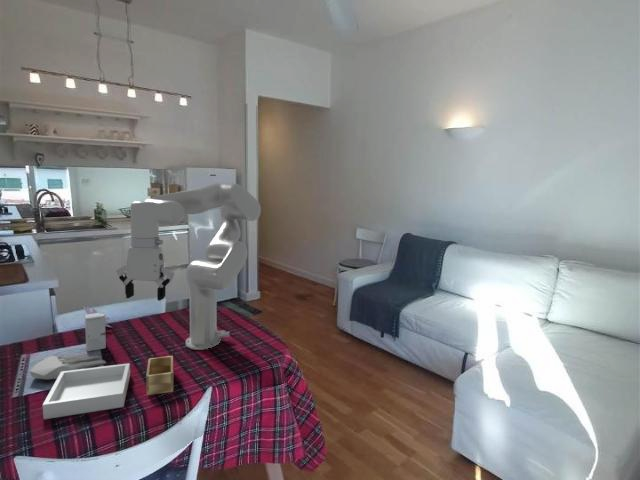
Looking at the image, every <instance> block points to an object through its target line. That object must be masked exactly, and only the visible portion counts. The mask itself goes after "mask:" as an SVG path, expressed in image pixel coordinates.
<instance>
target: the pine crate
mask: <svg viewBox="0 0 640 480" xmlns="http://www.w3.org/2000/svg"><path fill="white" fill-rule="evenodd" d="M147 360H148V361H147V368H146V375H145V376H146V377H145V380H146V381H145V382H146V384H145V385H146V396H152V395H153V396H154V395H158V394H166V393H170V392H171V393H173V392H174V355H167V356H160V357H150V358H148V359H147Z"/></svg>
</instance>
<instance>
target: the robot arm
mask: <svg viewBox="0 0 640 480" xmlns="http://www.w3.org/2000/svg"><path fill="white" fill-rule="evenodd" d="M218 207H219V209H220V210H219V213H220V228H219V229H218V230H217V232H216V234H215V235H214V236H213V237H212V239H211V240H210V242H209V243H208V245H207V247H205V251H204V256H205V258H206V259H207V260H206V259H195V260H193V261H191V262H190V263H188V266H187V268H186V271H185V277H186V282H187V286H188V296H189V298H188V299H189V301H188V302H189V337H187V338H186V339H185V346H186V347H187V348H188V349H191V350H195V351H197V350H198V351H203V350H204V351H205V349H206V350H209V349H208V348H211V349H213V348H212V347H214V346H216V345H218V344H219V343H220V344H221V342H222V338H230V331H226V330H224V329H223V330H218V328H217V324H218V322H217V321H218V320H217V317H218V316H217V306H218V305H217V301H218V300H217V293H216V290H218V291H225V290H227V289H229V287H231V286H232V284H233V282H234V281H235V280H236V278H237V277H238V275H239V273H240V271H241V270H242V268H243V267H244V265H245V263H246V262H247V261H246V260H247V258H248V248H247V245H246V244H245V243H244V242H242V241H239V240H240V238H241V235H242V232H241V229H240V224H239V222H238V221H245V222H253V221H256V220H258V219H259V218H260V216H261V212H262V207H261V204H260V202H259V201H258V200H257V198H255V197H254V196H253V195H252V193H251V192H249V191H248V190H247V189H246V188H245V187H243V186H242V185H240V184H239V183H231V182H215V183H210V184H207V185H205V186H204V185H203V186H201V187H197V188H193V189H189V190H182V191H176V192H170V193H164V194H160V195H157V196H153V197H150V198H149V197H148V198H147V199H145V200H135V201H133V202H131V204H130V246H128V250H127V255H126V265H124V266H123V267H120V268H118V269H116V271H115V272H116V273H117V274H116V275H117V276H118V277H119V280H120V281H121V282H122V283H123V286H124V287H125V288H124V290H125V292H124V294H125V299H130V298H132V297H134V296H135V284H134V282H133V281H142V282H143V281H144V282H146V281H147V282H155V283H156V285H158V287H157V290H156V291H157V292H156V293H157V294H156V295H157V301H158V302H160V301H162V300H164V299H165V297H166V287H167V286H168V285H169V283H171V282H172V280H173V277H174V276H175V272H173V271H171V270H170V269H168V268H166V267H165V265H166V263H165V257H164V252H163V248H162V247H161V246H160V245H163V243H164V240H163V239H160V235H159V233H160V229H159V227H160V226H159V225H165V226H166V225H167V226H176V225H178V224H180V223H181V222H183V220H184V218H185V216H186V215H197V214H203V213H205V212H206V213H207V212H208V211H210V210H211V211H212V210H214V209H217V208H218ZM125 271H126V273H125ZM165 277H166V278H165ZM220 341H221V342H220ZM220 344H219V345H220ZM219 345H218V346H219ZM216 347H217V346H216ZM214 348H215V347H214Z"/></svg>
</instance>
